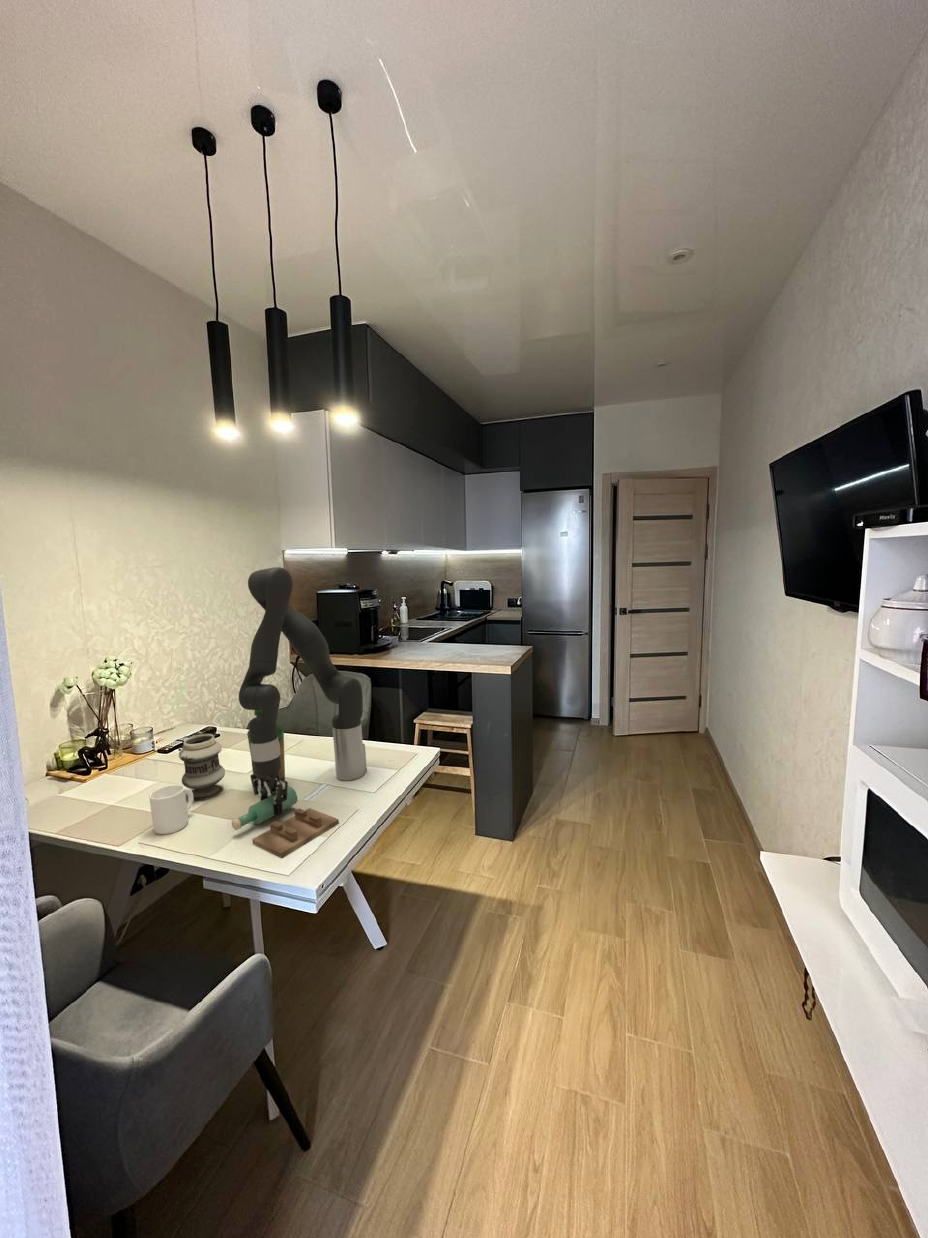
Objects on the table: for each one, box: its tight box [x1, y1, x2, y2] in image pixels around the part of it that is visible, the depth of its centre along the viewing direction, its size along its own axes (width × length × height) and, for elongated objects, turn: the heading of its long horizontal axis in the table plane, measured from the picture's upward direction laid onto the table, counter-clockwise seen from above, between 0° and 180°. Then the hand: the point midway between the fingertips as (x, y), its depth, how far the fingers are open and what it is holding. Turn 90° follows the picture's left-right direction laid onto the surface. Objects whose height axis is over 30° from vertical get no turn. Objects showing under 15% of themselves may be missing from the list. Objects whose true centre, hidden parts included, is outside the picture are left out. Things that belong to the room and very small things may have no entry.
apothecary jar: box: [178, 733, 226, 802], centre depth 155 cm, size 12×12×18 cm
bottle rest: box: [251, 807, 340, 859], centre depth 131 cm, size 18×12×4 cm, turn 146°
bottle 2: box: [231, 786, 298, 831], centre depth 137 cm, size 18×5×5 cm, turn 146°
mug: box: [148, 784, 194, 835], centre depth 138 cm, size 12×8×10 cm
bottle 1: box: [246, 710, 286, 792], centre depth 157 cm, size 11×11×28 cm
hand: (272, 812), depth 139 cm, fingers closed on bottle 2, 5 cm apart
